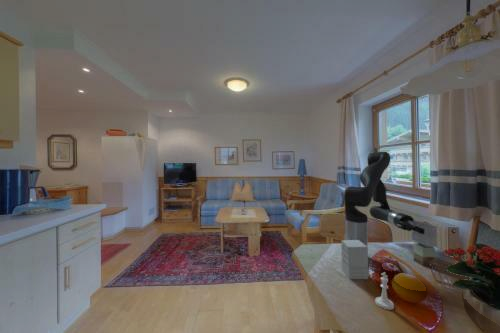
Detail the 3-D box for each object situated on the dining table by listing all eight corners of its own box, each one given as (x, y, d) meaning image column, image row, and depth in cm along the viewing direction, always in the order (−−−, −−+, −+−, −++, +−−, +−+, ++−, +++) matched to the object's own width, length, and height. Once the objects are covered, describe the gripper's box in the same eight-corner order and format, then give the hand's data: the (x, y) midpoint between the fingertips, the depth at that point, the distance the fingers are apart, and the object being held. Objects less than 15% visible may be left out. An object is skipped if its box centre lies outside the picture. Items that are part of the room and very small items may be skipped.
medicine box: (437, 247, 84) (437, 226, 84) (426, 247, 85) (426, 226, 84) (421, 239, 92) (421, 221, 92) (411, 239, 92) (411, 221, 92)
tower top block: (422, 257, 86) (422, 247, 86) (413, 251, 91) (413, 243, 91) (434, 256, 86) (434, 247, 86) (424, 251, 91) (424, 243, 91)
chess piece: (387, 311, 60) (387, 278, 60) (371, 301, 64) (371, 270, 64) (397, 306, 62) (397, 274, 62) (381, 297, 66) (381, 267, 66)
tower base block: (422, 266, 86) (422, 257, 86) (413, 260, 91) (413, 251, 91) (434, 266, 86) (434, 257, 86) (424, 260, 91) (424, 251, 91)
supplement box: (359, 269, 84) (359, 239, 83) (368, 280, 76) (368, 247, 76) (341, 269, 84) (340, 239, 84) (348, 279, 77) (348, 246, 76)
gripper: (386, 213, 103) (412, 223, 86) (414, 212, 102) (446, 223, 85) (386, 227, 103) (412, 240, 86) (414, 227, 103) (446, 240, 85)
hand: (429, 231), depth 86 cm, fingers closed on medicine box, 4 cm apart
